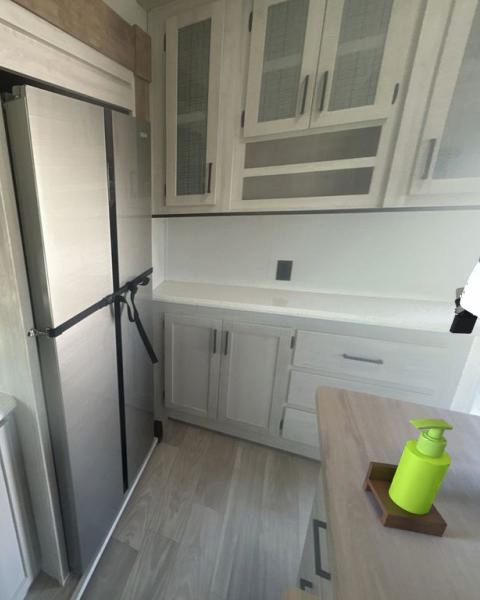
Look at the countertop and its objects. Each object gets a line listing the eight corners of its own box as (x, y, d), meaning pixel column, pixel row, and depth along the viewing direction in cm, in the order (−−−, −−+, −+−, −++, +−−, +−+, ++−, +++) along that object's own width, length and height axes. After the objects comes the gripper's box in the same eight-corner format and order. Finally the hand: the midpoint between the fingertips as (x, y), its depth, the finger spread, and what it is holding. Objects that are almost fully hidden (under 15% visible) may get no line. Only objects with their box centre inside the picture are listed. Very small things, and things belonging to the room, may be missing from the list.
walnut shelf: (411, 499, 71) (423, 468, 67) (439, 542, 63) (454, 510, 60) (361, 490, 74) (370, 461, 70) (381, 530, 66) (393, 499, 62)
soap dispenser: (375, 485, 69) (401, 410, 62) (413, 487, 68) (444, 411, 60) (396, 513, 64) (427, 434, 56) (438, 515, 63) (475, 435, 55)
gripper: (600, 274, 48) (549, 373, 54) (501, 245, 63) (470, 325, 69) (529, 274, 50) (488, 369, 56) (450, 246, 65) (424, 323, 71)
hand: (478, 345), depth 63 cm, fingers open, 9 cm apart
